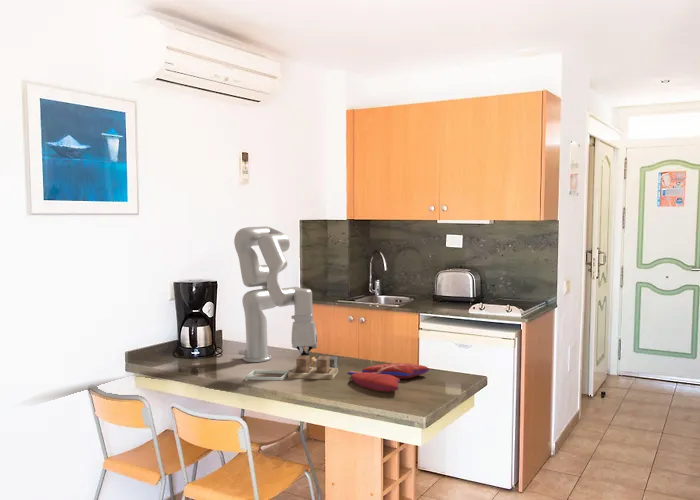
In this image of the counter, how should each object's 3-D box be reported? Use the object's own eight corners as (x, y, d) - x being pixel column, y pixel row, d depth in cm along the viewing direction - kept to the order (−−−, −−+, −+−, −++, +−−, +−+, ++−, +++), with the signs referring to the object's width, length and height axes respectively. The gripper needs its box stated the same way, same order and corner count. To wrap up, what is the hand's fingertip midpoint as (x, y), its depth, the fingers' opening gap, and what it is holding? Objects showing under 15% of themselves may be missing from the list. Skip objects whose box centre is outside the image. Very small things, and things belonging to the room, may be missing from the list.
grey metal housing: (320, 372, 251) (320, 359, 250) (323, 369, 256) (322, 356, 255) (334, 372, 250) (334, 359, 249) (337, 369, 255) (336, 356, 254)
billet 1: (296, 376, 242) (296, 358, 241) (300, 372, 248) (300, 355, 247) (306, 376, 241) (305, 359, 241) (310, 372, 247) (309, 355, 246)
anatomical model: (431, 381, 242) (365, 375, 258) (430, 363, 242) (365, 358, 258) (396, 395, 216) (326, 388, 232) (396, 375, 216) (326, 369, 232)
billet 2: (317, 376, 240) (316, 359, 240) (320, 372, 246) (319, 355, 246) (326, 377, 239) (326, 359, 239) (330, 373, 245) (329, 355, 245)
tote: (245, 382, 240) (244, 376, 239) (254, 375, 250) (253, 369, 249) (282, 383, 237) (282, 377, 237) (289, 376, 247) (289, 370, 247)
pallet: (288, 380, 240) (288, 373, 240) (295, 373, 251) (295, 366, 251) (332, 382, 237) (332, 375, 236) (338, 374, 247) (338, 367, 247)
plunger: (311, 366, 252) (311, 359, 252) (313, 363, 256) (313, 356, 255) (322, 366, 251) (322, 359, 251) (324, 364, 255) (324, 357, 255)
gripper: (284, 320, 251) (285, 363, 252) (319, 320, 248) (320, 364, 249) (289, 316, 258) (290, 359, 259) (323, 317, 255) (324, 360, 256)
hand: (305, 361), depth 254 cm, fingers closed
